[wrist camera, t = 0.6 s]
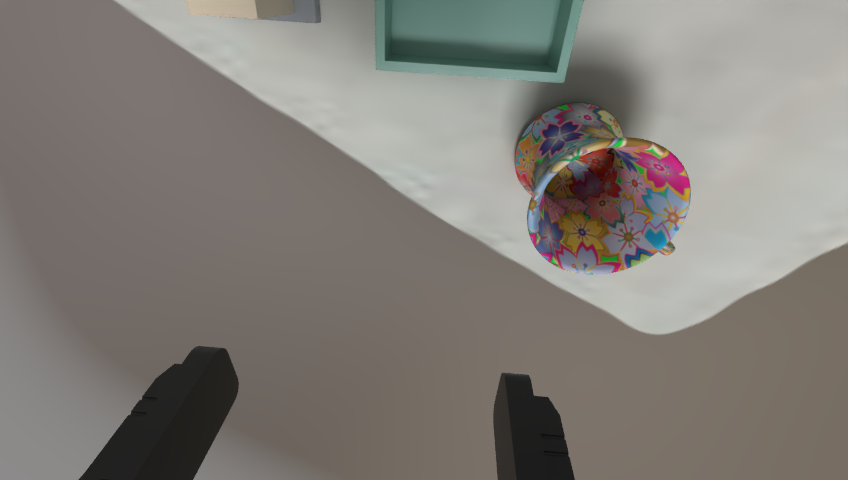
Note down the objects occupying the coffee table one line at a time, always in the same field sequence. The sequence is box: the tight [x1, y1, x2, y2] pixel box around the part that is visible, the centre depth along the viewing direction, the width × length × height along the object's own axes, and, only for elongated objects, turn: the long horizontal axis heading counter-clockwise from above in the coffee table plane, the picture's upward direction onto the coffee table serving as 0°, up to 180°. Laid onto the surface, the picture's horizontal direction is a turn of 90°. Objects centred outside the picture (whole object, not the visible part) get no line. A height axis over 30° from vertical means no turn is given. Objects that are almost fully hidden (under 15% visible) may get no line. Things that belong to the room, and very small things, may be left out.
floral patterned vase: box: [515, 103, 691, 275], centre depth 28 cm, size 12×9×11 cm
